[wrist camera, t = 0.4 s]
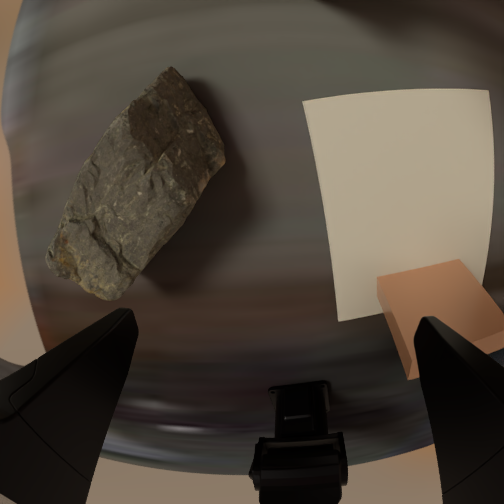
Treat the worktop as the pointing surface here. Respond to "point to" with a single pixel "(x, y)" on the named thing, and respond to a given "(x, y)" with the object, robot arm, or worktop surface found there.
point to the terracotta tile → (439, 307)
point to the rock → (136, 188)
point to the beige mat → (402, 184)
